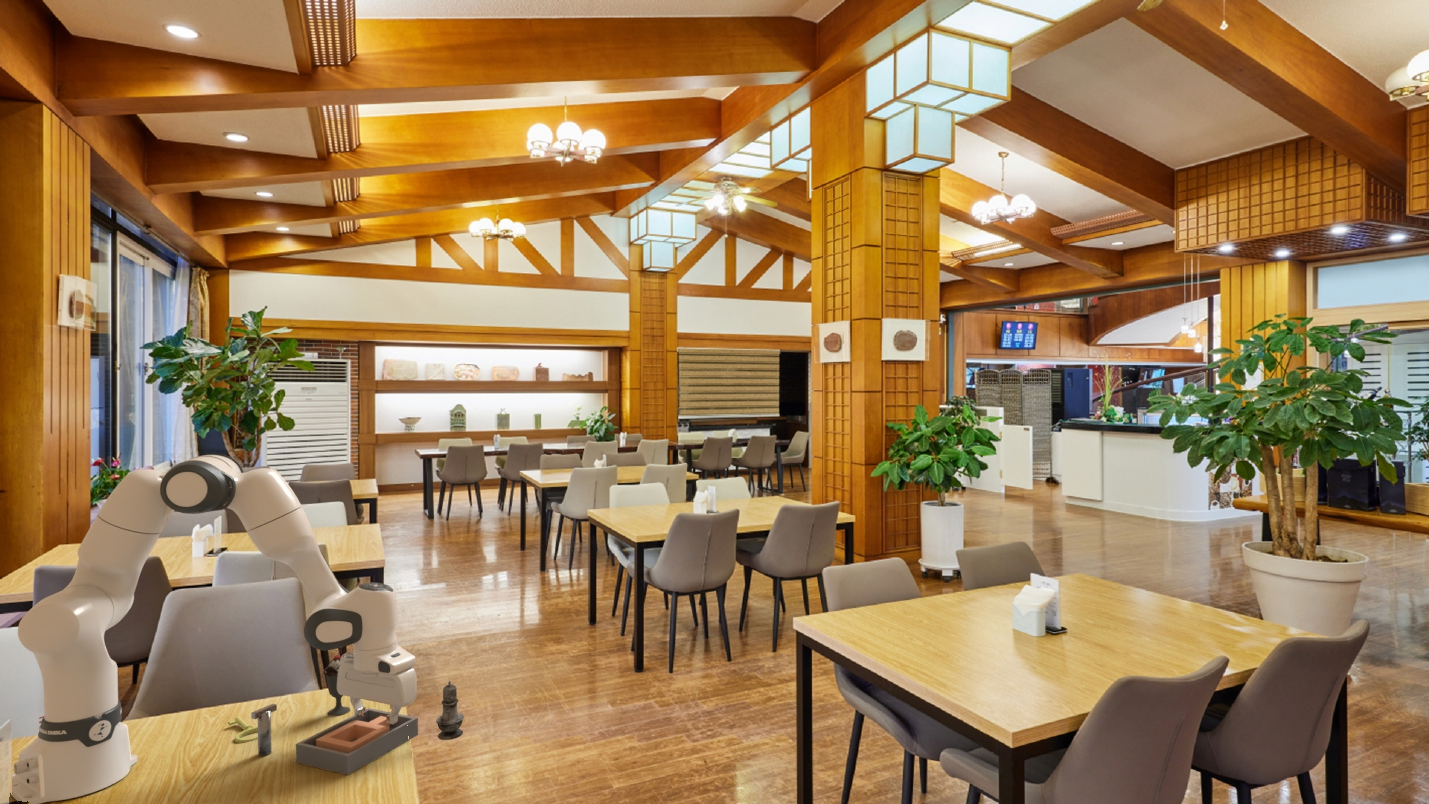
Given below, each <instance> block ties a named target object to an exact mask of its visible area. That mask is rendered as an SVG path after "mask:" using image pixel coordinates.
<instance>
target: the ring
mask: <svg viewBox="0 0 1429 804" xmlns="http://www.w3.org/2000/svg"><path fill="white" fill-rule="evenodd" d="M389 731H390V724H389V723H387V719H386V717H383V716H380V717H378V718H376V719H374V720H372V721H370V722H363V721H359V720H354V721H352V722H350V723H348V724H346V725H344V726H342V727H340V728H338V729H336V730H334V731H332V732H330V733H328V734H326V735H324V736H322V737H320V738H318V739H316V746H317V747H322V748H326V749H330V750H335V751H339V752H343V753H347V754H348V753H350V752H352V751H354V750H356V749H358V748H359V747H361V746H363V745H365V744H367V743H369V742H371V741H372V740H374V739H376V738H378V737H380V736H382V735H383V734H385V733H387V732H389ZM355 738H357V740H355V741H354V742H349V741H351V740H353V739H355Z"/></svg>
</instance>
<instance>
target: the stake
mask: <svg viewBox="0 0 1429 804" xmlns="http://www.w3.org/2000/svg"><path fill="white" fill-rule="evenodd" d="M277 709H278V707H277V703H272V704H269V705H266V706H264V707H262V708H259V709H256V710H254V711H252V712H251V714H250V716H251V717H250V718H251V719H252V720H257V727H258V732H257V736H258V739H257V756H258V757H266V756H268V755H270V754H272V733H271V727H272V713H273V712H275V711H277Z"/></svg>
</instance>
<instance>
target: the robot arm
mask: <svg viewBox="0 0 1429 804" xmlns="http://www.w3.org/2000/svg"><path fill="white" fill-rule="evenodd" d="M226 509H229V510H232V511H233V513H235V514H236V515H237V518H239V520H240V522H241V523H242V525H243V527H244V530H245V531H246V533H247V535H248V536H249V539H250V540H251V542H252V543H253V544H254V546H255V547H256V548H257V550H258V551H259V552H260V553H261V555H263V557H265V558H267V559H269V560H272V561H276V562H280V563H284V564H285V565H287V566H289V568H291V569H292V570H293V571H294V573H295V574H296V575H297V578H298V579H299V581H300V582H301V584H302V586H303V587H304V589H305V591H306V593H307V594H308V595H309V598H310V601H311V605H312V611H311V613H310V614H309V616H308V617H307V620H306V622H305V624H304V626H303V635H304V639H305V641H306V642H307V644H309V645H310V646H311V647H312V648H314V649H315V650H319V651H332V650H335V649H336V650H337V649H340V648H341V647H342V648H345V647H347V646H351V645H353V652H352V651H350V652H349V651H346V652H345V653H342V654H341V656H342V657H341V659H340V666H339V670H338V677H337V691H338V693H339V694H340V695H343V696H346V697H349V701H350V704H351V705H352V707H353V709H354V710H353V711H354V714H353V716H354V715H355V716H356V717H362V716H364V715H365V714H366V712H365V710H366V709H367V707H366V706H364V705H363V702H362V700H364V701H370V702H373V703H379V704H384V705H389V709H390V710H391V711H390V712H391V713H390V715H387V716H386V719H387V723H389V724H394V723H396V722H397V721H398V714H400V711H401V709H402V708H405V707H407V706H408V705H411V704H413V702H415V700H416V699H417V693H418V691H417V690H418V687H417V686H418V685H417V682H418V681H417V673H416V670H415V668H414V667H413V666H415V665H416V662H417V660H416V659H417V658H416V656H415V655H414V654H412V653H410V652H408V650H406V649H404V648H403V647H402V646H400V645H399V644H398V636H397V632H396V629H397V628H396V627H397V626H398V625H397V624H398V604H397V596H396V593H395V591H394V589H393V588H392V587H391V586H390V585H388V584H385V583H381V582H372V581H371V582H363V583H359V584H358V585H357V586H356V587H355V588H353V589H352V590H351V591H350V590H348V589H347V588H345V587H344V586H343V585H342V584H341V582H340V581H339V580H338V579H337V577H336V575H335V574H334V571H333V570H332V568H331V567H330V565H329V564H328V562H327V560H326V558H325V556H324V555H323V553H322V552H321V550H320V547H319V545H318V542H317V540H316V536H315V534H314V532H313V528H312V526H311V522H310V521H309V518H308V516H307V514H306V510H305V509H304V507H303V506H302V504H301V502H300V501H299V498H298V496H297V495H296V494H295V492H294V490H293V489H292V488H291V486H290V485H289V483H288V482H287V481H286V480H285V479H284V477H283V476H282V475H281V473H279V472H278V471H277V470H275V469H273V468H267V467H260V468H255V469H252V470H249V471H246V472H245V471H244V469H243V466H242V465H241V464H240V463H239V462H238V460H236V459H235V458H233V457H231V456H229V455H226V454H221V453H211V454H206V455H205V454H204V455H199V456H194V457H192V458H190V459H188V460H185V461H181V462H180V463H177V464H175V465H174V466H173V467H171V468H170V469H169V470H168V471H167V472H163V471H162V470H161V471H159V470H157V469H150V468H144V469H143V468H141V469H140V468H139V469H136V470H135V469H134V470H133V471H130V472H129V473H127V474H126V475H125V476H124V477H123V478H122V480H121V481H120V482H119V483H118V484H117V486H115V488H114V489H113V490H112V492H111V493H110V494H109V496H108V497H107V498H106V500H105V502H104V503H103V504H102V506H101V508H100V510H99V512H98V513H97V515H96V517H95V518H94V520H93V522H92V523H91V526H90V527H89V529H88V531H87V533H86V534H85V536H84V537H83V540H82V542H81V544H79V547H78V549H77V557H78V560H77V561H78V562H77V565H76V568H75V572H74V575H73V577H72V580H71V581H70V582H69V584H68V585H67V586H66V587H64V589H62V590H60V591H58V592H55V593H53V594H51V595H49V596H46V597H45V598H43V599H41V600H39V602H37V603H36V604H35V605H33V606H32V608H31V607H30V609H29V610H28V611H27V612H26V613H25V614H24V615H23V616H22V618H21V619H20V621H19V624H18V627H17V636H18V639H19V641H20V644H21V645H22V646H23V647H24V648H25V649H26V650H28V651H30V652H31V653H32V654H33V655H34V658H35V660H36V662H37V665H38V668H39V671H40V675H41V679H42V685H43V688H42V689H43V714H44V715H43V716H40V717H38V719H41V720H40V721H38V723H39V724H40V725H39V727H38V734H37V737H36V738H35V739H34V740H33V741H32V742H31V743H30V744H29V745H27V747H25V748H24V749H23V750H22V751H20V753H19V754H18V762H15V763H14V764H13V772H14V773H13V774H11V775H12V795H11V796H12V797H13V798H14V800H16V801H17V802H18V801H22V802H27V801H28V802H30V803H31V804H43V803H44V804H45V803H47V802H57V801H63V800H70V799H73V798H79V797H83V796H86V795H89V794H92V793H95V792H97V791H100V790H104V789H105V788H108V787H109V786H110V787H111V786H112V785H113V784H115V783H117V782H119V781H121V780H122V779H124V778H125V777H126V776H127V775H128V774H129V772H130V770H131V767H132V766H133V765H135V764H136V763H137V761H138V755H136V754H131V743H130V737H129V736H130V735H129V728H128V725H127V724H126V723H124V722H121V721H122V712H123V711H122V710H123V708H122V706H121V705H122V703H121V701H120V700H119V688H118V687H119V683H118V682H119V681H118V679H119V678H118V677H119V676H118V673H119V672H118V669H119V668H118V665H117V662H116V661H115V660H113V659H112V658H111V656H110V654H109V652H108V649H107V647H106V643H105V634H106V631H108V630H109V629H111V628H112V627H114V626H116V625H117V624H118V623H119V622H121V620H122V619H124V617H125V616H126V615H127V614H128V612H129V611H130V609H132V606H133V603H134V600H135V592H136V588H137V586H138V582H139V578H140V575H141V573H142V570H143V568H144V565H145V563H146V562H147V560H148V558H149V556H150V554H151V552H152V551H153V548H154V546H155V544H156V543H157V541H158V539H159V538H160V536H161V534H162V532H163V530H164V528H165V527H166V525H167V522H168V521H169V519H170V517H171V516H172V515H173V514H174V512H177V513H181V514H188V515H198V514H203V513H204V514H205V513H211V512H217V511H223V510H224V511H225V510H226Z"/></svg>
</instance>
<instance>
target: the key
mask: <svg viewBox="0 0 1429 804" xmlns="http://www.w3.org/2000/svg"><path fill="white" fill-rule="evenodd" d="M235 724H237V725H238V726H240V728H241V729H242V731H240V732H238V733H237V734H236V735H235V738H234V742H235V743H238V744H239V743H240V744H243V743H249V742H253V741H256V740H257V741H258V735H256V736H253V737H248V738H243V737H246V736H247V735H248V736H249V735H251V734H254V733H258V726H255V727H253V725H251V724H248V723H246V721H244V720H243V719H242V718H241V716H237V717H235V718H234V719H233V720H229V721H227V725H228V726H232V725H235ZM272 733H273V727H272V726H271V734H272Z"/></svg>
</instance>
